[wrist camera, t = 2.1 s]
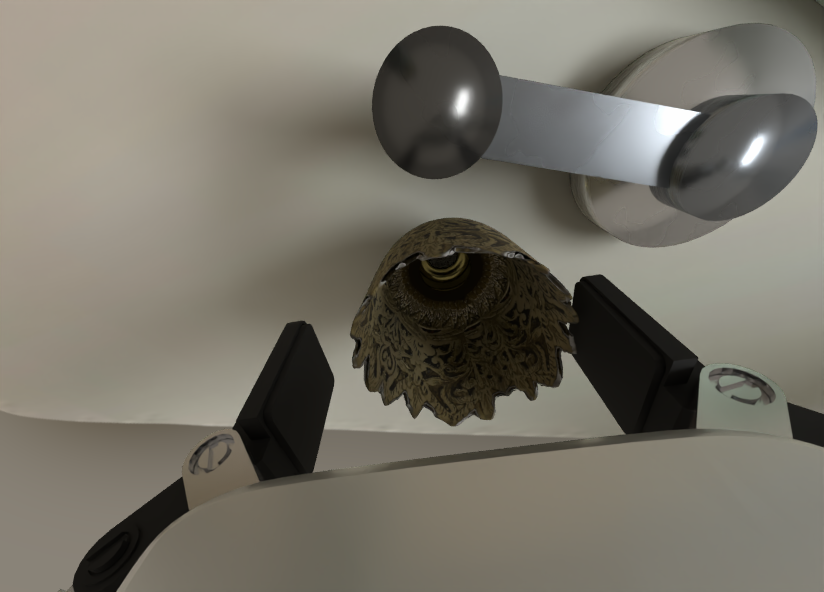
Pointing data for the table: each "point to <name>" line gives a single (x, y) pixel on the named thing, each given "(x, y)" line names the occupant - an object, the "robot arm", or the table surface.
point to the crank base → (684, 89)
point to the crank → (584, 129)
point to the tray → (821, 2)
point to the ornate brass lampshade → (461, 322)
